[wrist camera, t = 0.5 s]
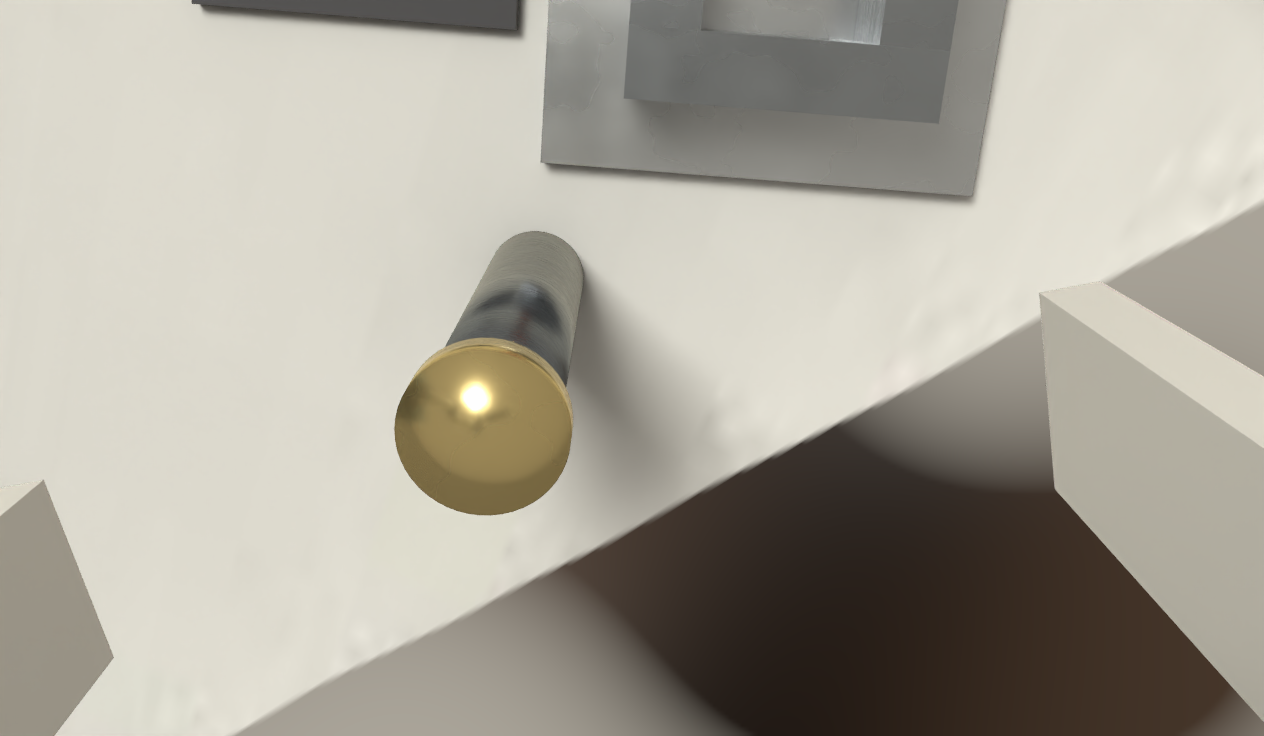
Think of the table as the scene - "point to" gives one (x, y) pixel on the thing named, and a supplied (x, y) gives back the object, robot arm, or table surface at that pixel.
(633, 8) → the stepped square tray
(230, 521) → the table surface
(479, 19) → the mat
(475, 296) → the gold capped cylinder
